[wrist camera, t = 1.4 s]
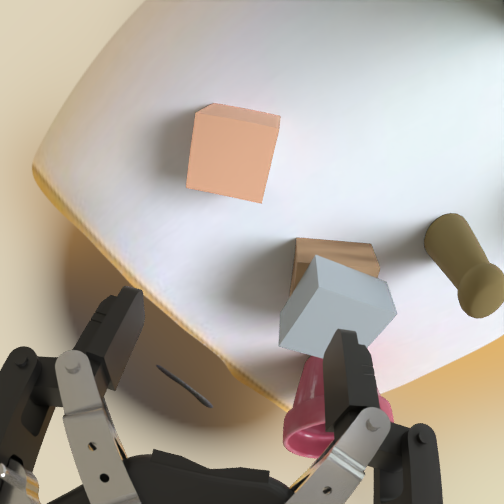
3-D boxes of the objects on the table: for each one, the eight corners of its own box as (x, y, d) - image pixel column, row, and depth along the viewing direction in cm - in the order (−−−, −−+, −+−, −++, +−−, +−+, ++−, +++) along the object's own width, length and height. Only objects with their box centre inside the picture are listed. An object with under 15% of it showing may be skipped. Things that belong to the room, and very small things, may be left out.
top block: (315, 254, 28) (318, 286, 24) (386, 281, 29) (397, 313, 25) (280, 312, 32) (278, 346, 29) (345, 333, 33) (350, 365, 29)
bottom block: (296, 236, 32) (297, 262, 29) (370, 242, 32) (380, 268, 28) (289, 295, 37) (288, 322, 33) (354, 299, 36) (360, 326, 32)
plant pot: (366, 320, 38) (382, 406, 27) (390, 372, 44) (402, 443, 33) (269, 353, 43) (261, 434, 32) (309, 396, 49) (308, 464, 38)
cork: (413, 246, 31) (450, 317, 22) (446, 203, 28) (497, 265, 19) (446, 267, 32) (483, 334, 23) (477, 228, 29) (525, 290, 20)
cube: (213, 102, 25) (195, 112, 20) (280, 115, 26) (279, 128, 21) (203, 164, 29) (185, 187, 24) (266, 176, 29) (261, 203, 24)
